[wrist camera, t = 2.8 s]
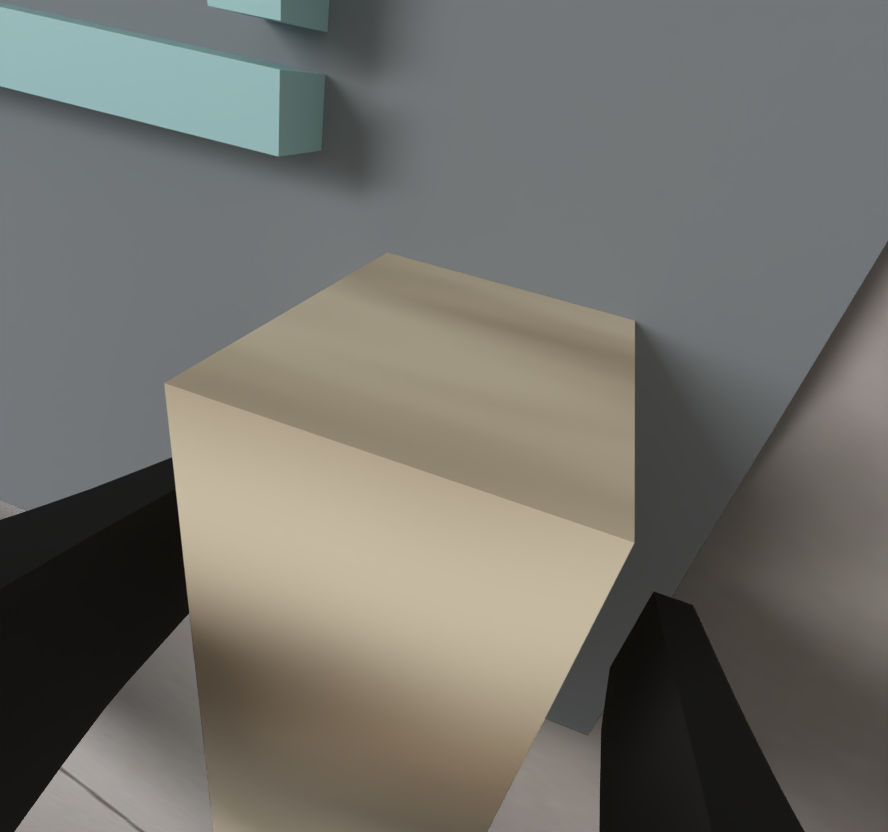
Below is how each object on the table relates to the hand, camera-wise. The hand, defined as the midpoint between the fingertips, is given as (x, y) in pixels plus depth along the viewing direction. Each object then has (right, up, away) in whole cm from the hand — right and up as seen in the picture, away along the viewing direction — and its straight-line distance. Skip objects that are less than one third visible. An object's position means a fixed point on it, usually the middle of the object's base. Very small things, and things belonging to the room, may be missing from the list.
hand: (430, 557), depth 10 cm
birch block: (0, +1, +1) cm, 2 cm away
